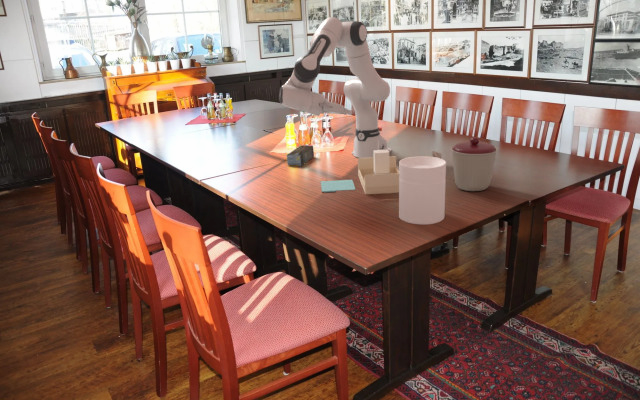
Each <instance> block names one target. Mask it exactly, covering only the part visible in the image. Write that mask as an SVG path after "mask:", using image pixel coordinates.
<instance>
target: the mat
mask: <svg viewBox="0 0 640 400" xmlns="http://www.w3.org/2000/svg"><path fill="white" fill-rule="evenodd" d="M320 186H321V193H322V192H324V193H336V192H337V191H339V192H340V191H354V190H355V191H356V187H355V184H354V180H353V179H342V180H341V179H339V180H320Z"/></svg>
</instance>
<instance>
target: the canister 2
mask: <svg viewBox="0 0 640 400" xmlns="http://www.w3.org/2000/svg"><path fill="white" fill-rule="evenodd" d="M450 150H451V152H452V164H453V176H454V183H455V185H456V187H457V188H458V189H460V190H462V191H467V192H482V191H484V190H486V189H488V187H490V184H491V180H492V176H493V172H494V166H495V161H496V154H497V152H498V151H499V149H498V147H497V146H495V145H493V144H491V143H488V142H483V141H480V138H479V137H477V136H472V137H471V138H470V139H469V141H463V142H459V143H456V144H455V145H453V146H451V147H450Z"/></svg>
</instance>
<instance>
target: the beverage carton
mask: <svg viewBox="0 0 640 400" xmlns="http://www.w3.org/2000/svg"><path fill="white" fill-rule="evenodd" d="M314 151H315V150H314V145H299V146H298V147H296V148H295V149H293V150H292V151H291V152H289V153H287V154H286V163H287V166H288V165H299V166H298V167H302V166H303V164H304V163H305V164H306V163H307V161H308V162H309V161H310V160H311V159H313V158H315V154H314V153H315V152H314ZM305 164H304V165H305Z"/></svg>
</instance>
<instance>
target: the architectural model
mask: <svg viewBox="0 0 640 400" xmlns="http://www.w3.org/2000/svg"><path fill="white" fill-rule="evenodd" d="M431 155H432V156H431V157H437V158H441V159H442V152H438V151H432V154H431Z"/></svg>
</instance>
